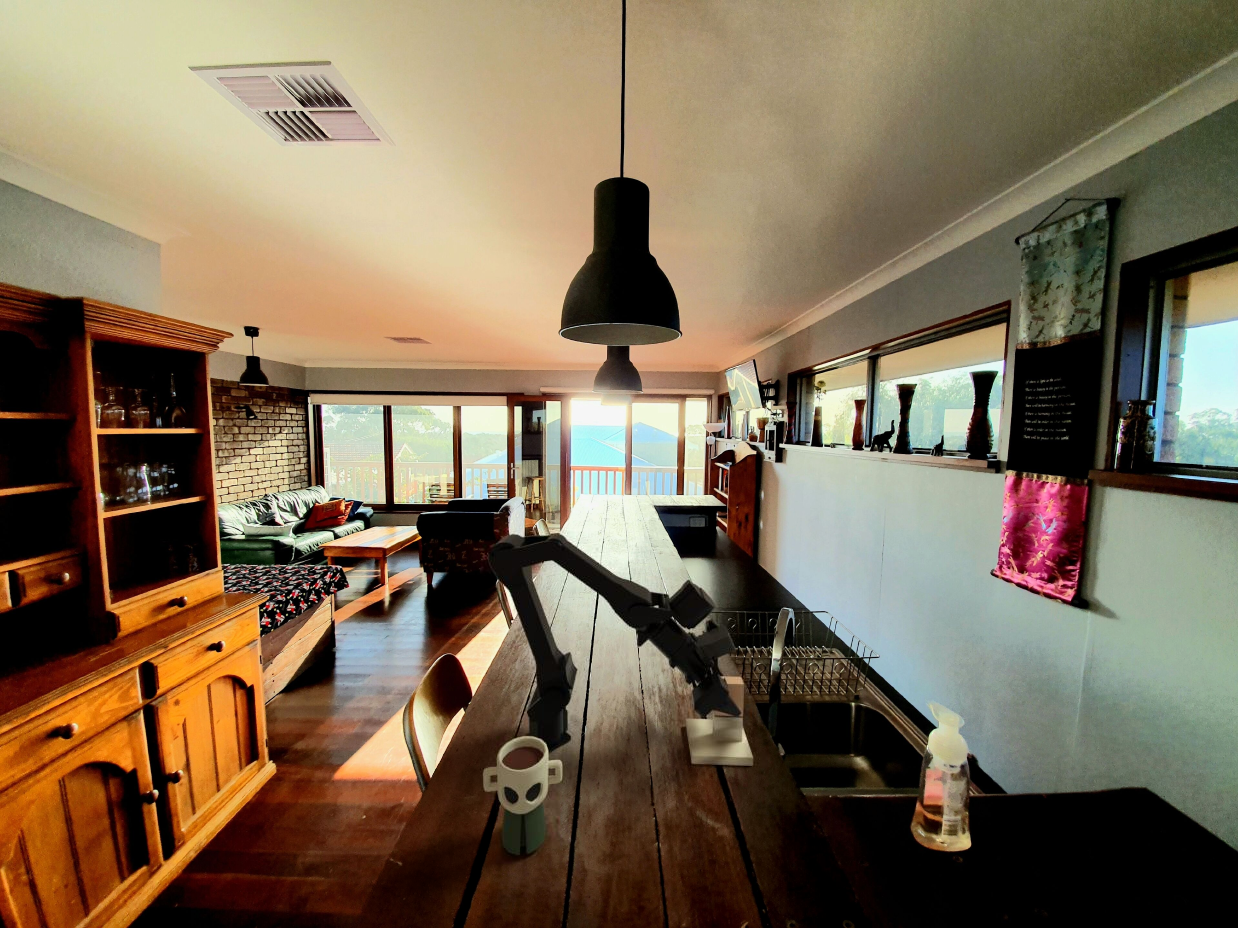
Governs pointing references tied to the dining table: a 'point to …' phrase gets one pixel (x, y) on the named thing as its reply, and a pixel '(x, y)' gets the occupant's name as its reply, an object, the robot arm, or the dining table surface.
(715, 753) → the cream square base plate
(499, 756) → the character mug
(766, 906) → the dining table surface
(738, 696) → the peach rectangular post
